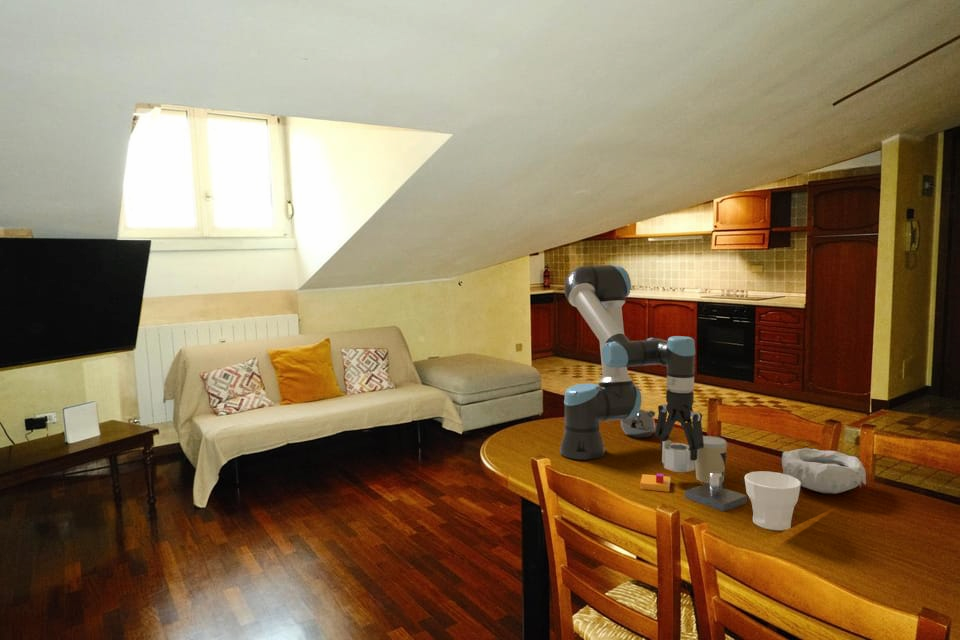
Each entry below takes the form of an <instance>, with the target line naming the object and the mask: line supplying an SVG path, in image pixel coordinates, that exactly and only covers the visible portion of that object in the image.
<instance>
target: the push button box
mask: <svg viewBox="0 0 960 640" xmlns="http://www.w3.org/2000/svg"><path fill="white" fill-rule="evenodd" d="M639 484H640V485H639V486H640V487H639V488H640V490H648V491H659V492H667V493H670V492H671V491H670V490H671V476H670V475H669V476H668V475H667V476H666V475H664V473H656V474H646V473H645V474H644V473H643V474H642V475H641V479H640V483H639Z"/></svg>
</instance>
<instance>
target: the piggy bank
mask: <svg viewBox="0 0 960 640" xmlns="http://www.w3.org/2000/svg"><path fill="white" fill-rule="evenodd" d="M655 415H656V412H655V411H654V410H644V409H642V408H640V410H639V412H638V414H637V415H636V416H635V417H633V418H628V419H625V420H620V425H621V429H622V431H623V432H624V434H625V436H629V437H633V438H634V439H636V438H637V439H642V438H643V439H644V438H649V437H650V436H652V435H653V433H654V434H655V432H656V423H655V419H654V417H655Z"/></svg>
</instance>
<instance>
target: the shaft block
mask: <svg viewBox="0 0 960 640" xmlns="http://www.w3.org/2000/svg"><path fill="white" fill-rule="evenodd" d="M684 498H685V499H687V500H689V501H693V502H696V503H699V504H701V505H704V506H706V507H708V508H709V507H710V508H712V509H715V510H718V511H721V512H722V513H723V512H726V511H727V512H728V511H729V510H732V509H734V508H735V509H736V508H738V507H740V506H743V505H746V504H747V501H748V500H747V498H748V496H747V495H746V494H742V493H740V492H736V491H733V490H732V489H731V490H729V489H727V488H724V487H723V482H722V474H721V473H720V472H710V484H709V483H704V484H701V485H698V486H694V487H692V488H689V489H686V490H684Z"/></svg>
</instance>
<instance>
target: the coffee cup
mask: <svg viewBox="0 0 960 640" xmlns="http://www.w3.org/2000/svg"><path fill="white" fill-rule="evenodd" d="M703 442H704V447H703V448H700V449H698V450H697V460H695V478H696V480H697V481H698V480H699V481H698V482H700V481H701V483H703V482H704V484H707V483H709V484H710V472H720V473H721V474H722V483H723V482H724V481H725V480H724V479H725V470H726V460H727V448H728V443H727V441H726V439H724V438H722V437H719V436H712V435H703Z"/></svg>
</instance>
